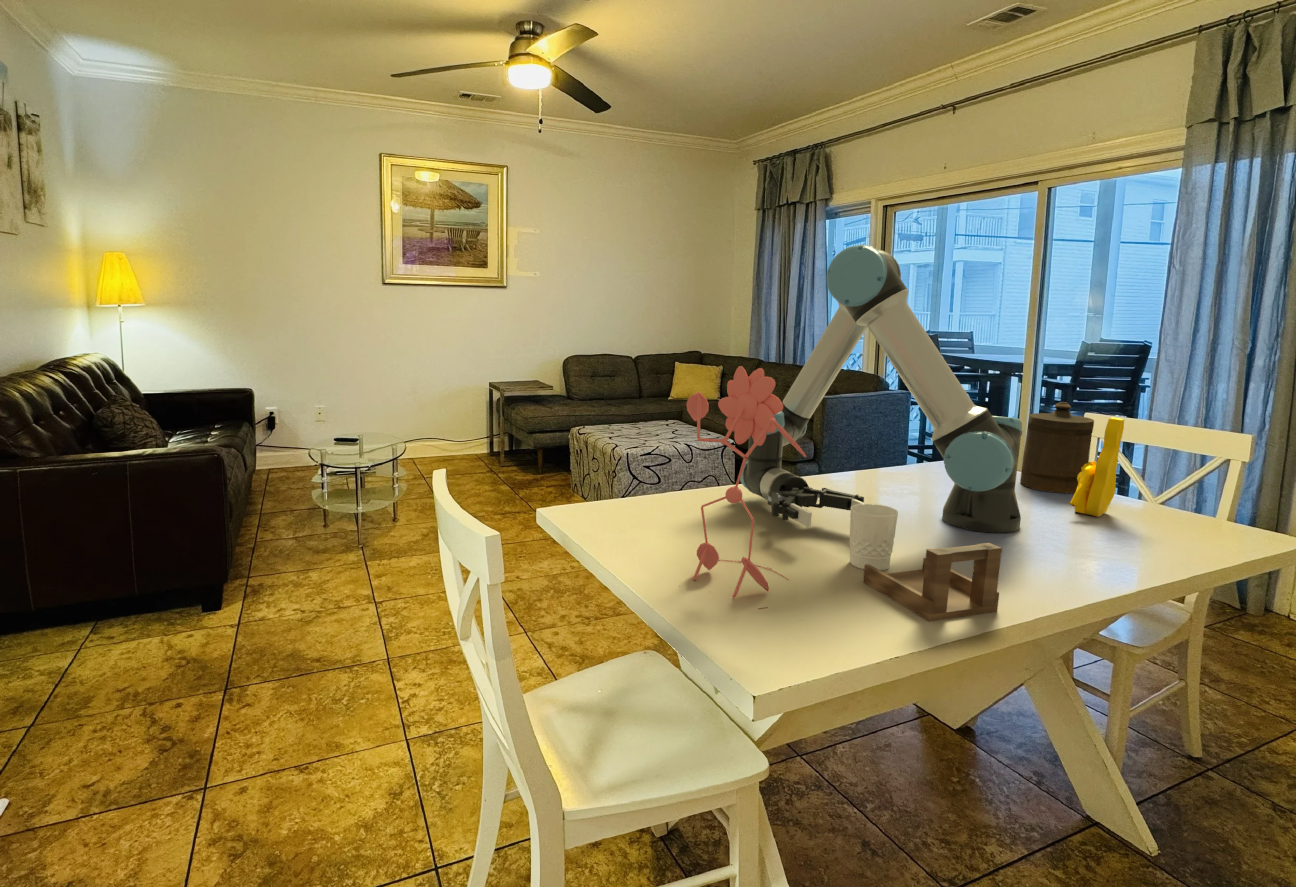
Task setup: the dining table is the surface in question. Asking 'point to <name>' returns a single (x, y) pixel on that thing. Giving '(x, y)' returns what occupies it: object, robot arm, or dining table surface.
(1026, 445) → the wooden container
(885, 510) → the white cup
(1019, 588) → the dining table surface
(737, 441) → the figurine
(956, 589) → the brown wooden stand
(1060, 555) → the dining table surface
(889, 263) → the robot arm
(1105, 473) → the figure statuette
